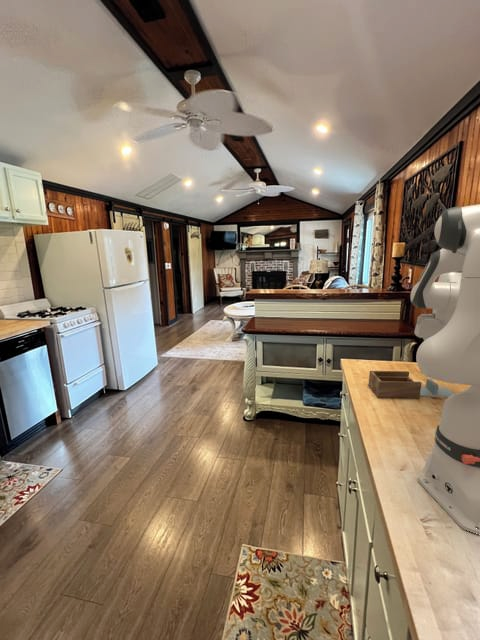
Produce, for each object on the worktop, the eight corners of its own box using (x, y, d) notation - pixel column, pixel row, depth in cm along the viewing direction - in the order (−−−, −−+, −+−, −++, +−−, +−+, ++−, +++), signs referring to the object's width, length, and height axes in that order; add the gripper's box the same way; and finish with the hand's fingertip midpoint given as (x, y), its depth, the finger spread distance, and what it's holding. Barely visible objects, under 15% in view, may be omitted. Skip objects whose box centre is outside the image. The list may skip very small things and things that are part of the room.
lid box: (419, 399, 121) (421, 382, 120) (378, 398, 122) (379, 382, 120) (406, 386, 132) (408, 371, 130) (368, 385, 133) (369, 370, 131)
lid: (457, 399, 122) (460, 387, 121) (419, 397, 123) (421, 386, 122) (446, 389, 130) (448, 378, 129) (410, 388, 131) (412, 377, 130)
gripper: (422, 315, 115) (417, 350, 118) (478, 316, 114) (472, 351, 117) (413, 312, 121) (409, 345, 124) (467, 312, 120) (461, 345, 123)
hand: (440, 348), depth 121 cm, fingers open, 8 cm apart
